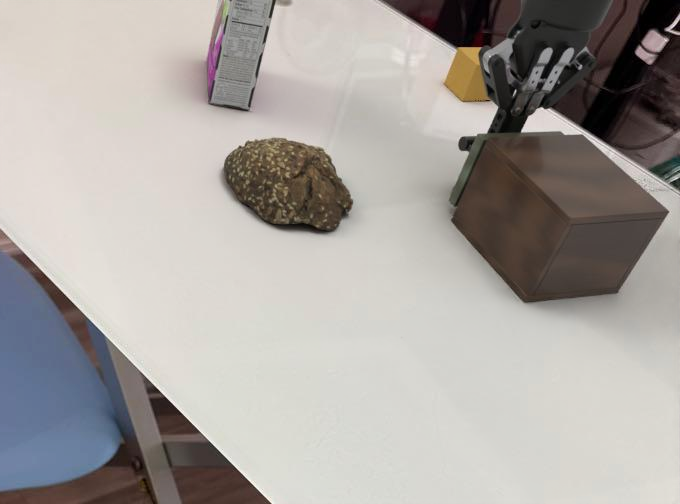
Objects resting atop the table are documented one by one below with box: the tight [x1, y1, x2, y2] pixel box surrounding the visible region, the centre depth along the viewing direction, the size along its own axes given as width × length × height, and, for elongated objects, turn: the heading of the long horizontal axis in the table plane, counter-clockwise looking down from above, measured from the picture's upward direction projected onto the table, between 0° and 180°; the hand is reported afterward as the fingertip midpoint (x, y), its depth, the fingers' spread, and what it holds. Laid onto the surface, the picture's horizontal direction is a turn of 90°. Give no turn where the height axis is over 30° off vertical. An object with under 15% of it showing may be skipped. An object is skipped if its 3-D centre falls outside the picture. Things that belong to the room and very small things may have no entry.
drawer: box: [447, 130, 565, 208], centre depth 96 cm, size 17×10×7 cm, turn 20°
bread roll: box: [222, 137, 354, 231], centre depth 95 cm, size 13×12×5 cm
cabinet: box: [450, 133, 670, 303], centre depth 94 cm, size 13×11×9 cm
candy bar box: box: [206, 0, 277, 111], centre depth 104 cm, size 11×5×16 cm, turn 179°
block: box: [443, 46, 490, 102], centre depth 118 cm, size 4×4×4 cm
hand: (497, 145), depth 99 cm, fingers closed
